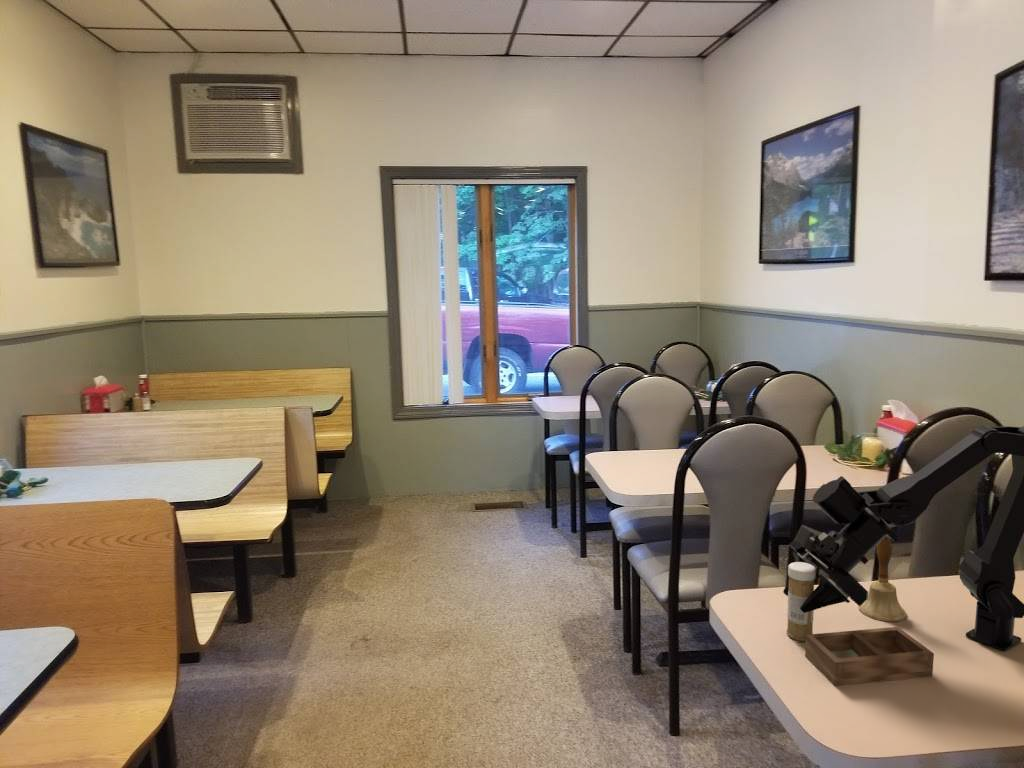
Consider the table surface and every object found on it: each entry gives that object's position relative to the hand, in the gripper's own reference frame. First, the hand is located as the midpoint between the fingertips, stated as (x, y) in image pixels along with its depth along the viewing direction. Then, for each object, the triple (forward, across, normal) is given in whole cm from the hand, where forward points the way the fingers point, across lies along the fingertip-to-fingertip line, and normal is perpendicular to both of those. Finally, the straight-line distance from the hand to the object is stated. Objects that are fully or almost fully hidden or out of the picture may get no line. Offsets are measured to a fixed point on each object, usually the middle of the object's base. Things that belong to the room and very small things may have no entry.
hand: (793, 602), depth 129 cm
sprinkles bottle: (+4, 0, +6) cm, 7 cm away
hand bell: (-10, -7, +20) cm, 23 cm away
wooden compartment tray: (-1, +11, +10) cm, 15 cm away
